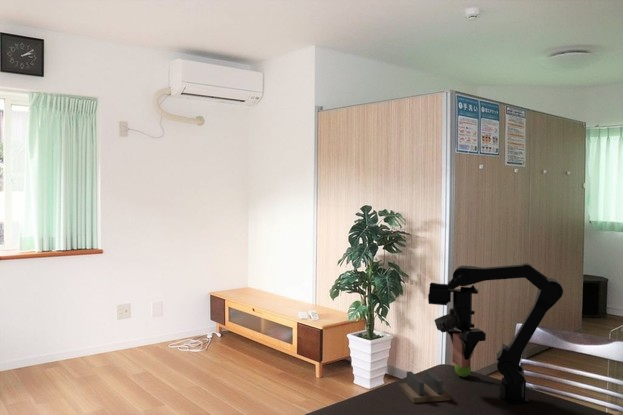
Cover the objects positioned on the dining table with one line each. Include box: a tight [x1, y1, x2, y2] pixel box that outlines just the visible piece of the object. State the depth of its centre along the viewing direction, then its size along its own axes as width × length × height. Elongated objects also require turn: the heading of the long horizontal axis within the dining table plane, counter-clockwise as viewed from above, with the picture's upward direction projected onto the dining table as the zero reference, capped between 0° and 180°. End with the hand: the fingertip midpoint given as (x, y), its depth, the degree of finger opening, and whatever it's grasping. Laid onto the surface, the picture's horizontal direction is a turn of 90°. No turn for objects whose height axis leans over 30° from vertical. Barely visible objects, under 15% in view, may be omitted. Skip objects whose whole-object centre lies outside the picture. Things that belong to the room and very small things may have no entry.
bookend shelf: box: [398, 370, 452, 404], centre depth 161 cm, size 12×12×6 cm
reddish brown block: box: [451, 333, 472, 368], centre depth 162 cm, size 3×6×9 cm, turn 12°
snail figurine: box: [454, 349, 475, 378], centre depth 176 cm, size 5×6×12 cm
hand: (461, 356), depth 162 cm, fingers closed on reddish brown block, 6 cm apart
